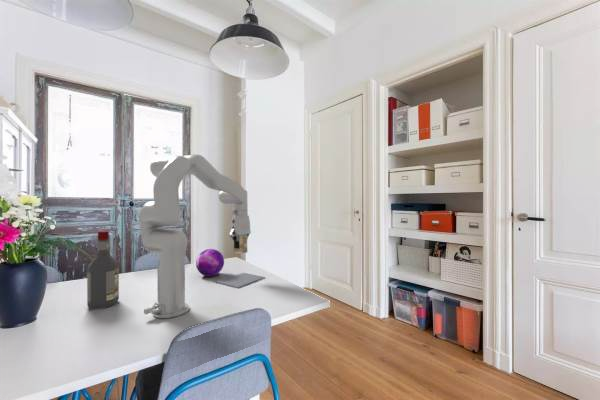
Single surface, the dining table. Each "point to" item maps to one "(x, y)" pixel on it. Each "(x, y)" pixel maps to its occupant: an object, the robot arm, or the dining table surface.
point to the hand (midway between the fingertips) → (240, 247)
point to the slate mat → (240, 280)
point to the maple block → (241, 244)
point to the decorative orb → (210, 262)
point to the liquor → (102, 276)
